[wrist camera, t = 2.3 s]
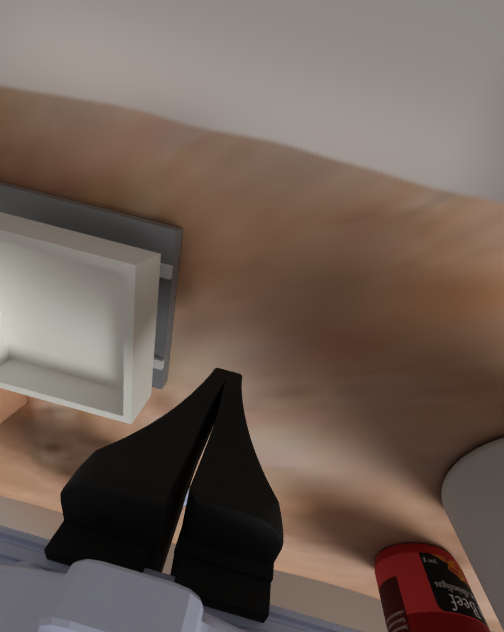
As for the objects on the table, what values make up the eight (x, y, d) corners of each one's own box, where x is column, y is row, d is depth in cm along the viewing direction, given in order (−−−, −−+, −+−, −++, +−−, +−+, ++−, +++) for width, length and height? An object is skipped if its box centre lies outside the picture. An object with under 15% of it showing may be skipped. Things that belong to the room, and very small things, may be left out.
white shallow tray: (170, 249, 15) (135, 265, 11) (158, 384, 19) (131, 424, 16) (2, 206, 15) (-80, 209, 12) (29, 348, 19) (-26, 380, 16)
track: (182, 228, 16) (160, 235, 13) (167, 381, 21) (148, 408, 18) (-157, 141, 16) (-246, 130, 14) (-90, 311, 22) (-145, 327, 19)
